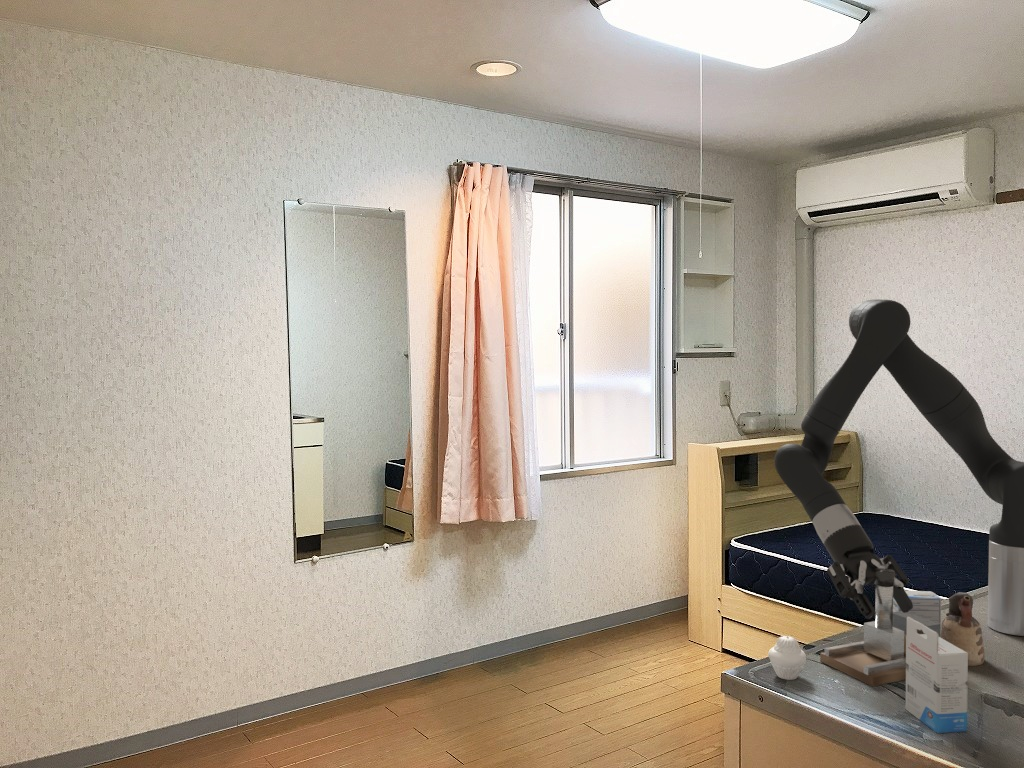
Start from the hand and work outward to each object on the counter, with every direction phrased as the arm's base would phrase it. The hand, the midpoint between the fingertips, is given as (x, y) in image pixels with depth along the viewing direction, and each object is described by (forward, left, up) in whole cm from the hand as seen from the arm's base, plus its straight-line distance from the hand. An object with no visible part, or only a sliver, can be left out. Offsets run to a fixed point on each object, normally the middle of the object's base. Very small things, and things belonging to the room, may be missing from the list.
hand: (890, 613), depth 144 cm
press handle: (0, -1, -8) cm, 8 cm away
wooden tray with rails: (0, -1, -10) cm, 10 cm away
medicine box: (-16, -9, -10) cm, 21 cm away
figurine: (-15, +2, -10) cm, 18 cm away
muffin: (+19, -4, -10) cm, 22 cm away
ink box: (+10, +18, -10) cm, 22 cm away
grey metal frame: (0, -1, -8) cm, 8 cm away
